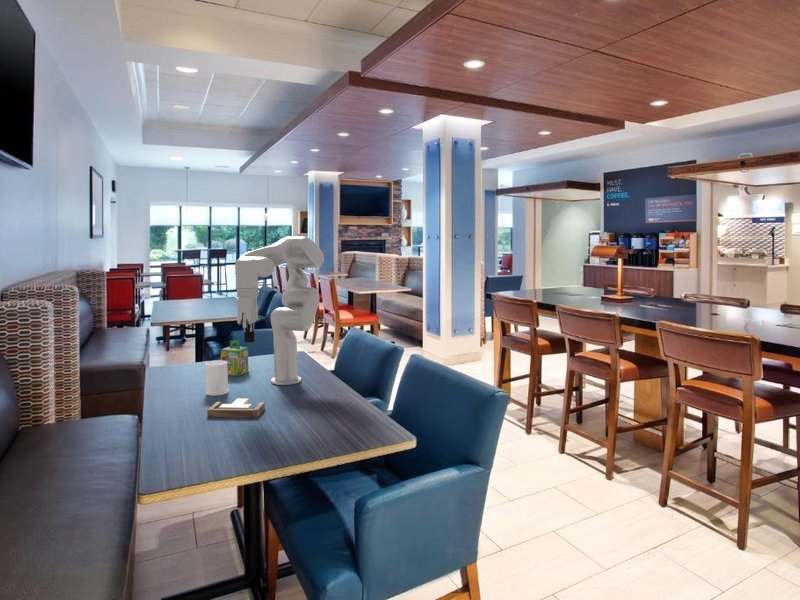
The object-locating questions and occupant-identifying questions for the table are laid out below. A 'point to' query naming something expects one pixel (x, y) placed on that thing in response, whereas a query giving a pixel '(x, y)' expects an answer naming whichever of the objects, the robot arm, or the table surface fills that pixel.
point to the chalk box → (235, 359)
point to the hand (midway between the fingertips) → (249, 341)
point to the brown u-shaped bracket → (235, 411)
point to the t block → (237, 404)
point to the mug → (216, 378)
